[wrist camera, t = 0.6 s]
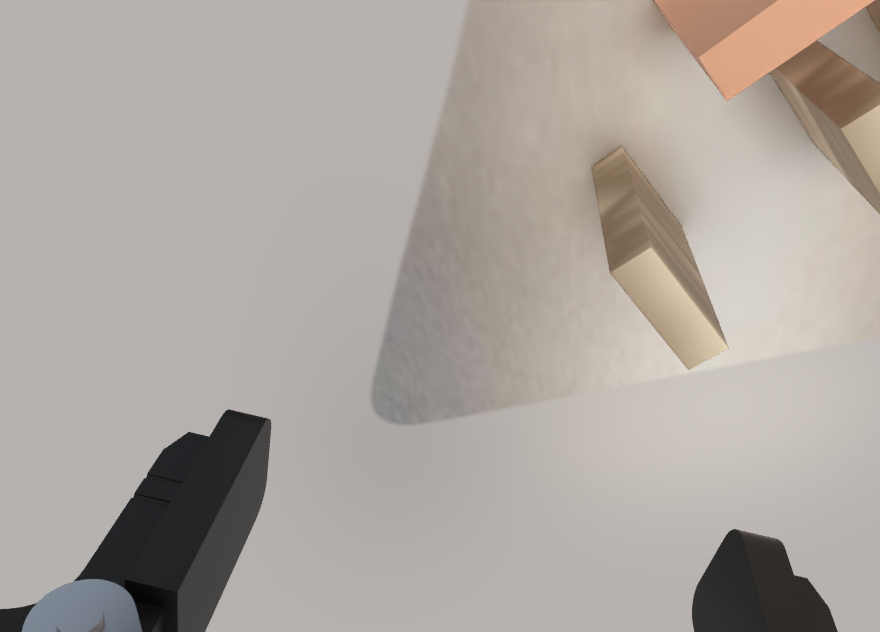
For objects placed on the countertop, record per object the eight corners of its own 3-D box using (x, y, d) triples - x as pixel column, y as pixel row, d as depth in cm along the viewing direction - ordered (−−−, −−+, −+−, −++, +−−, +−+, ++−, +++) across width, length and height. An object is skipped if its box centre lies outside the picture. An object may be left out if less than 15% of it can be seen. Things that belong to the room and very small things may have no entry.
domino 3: (793, 25, 30) (896, 94, 21) (850, 121, 32) (966, 221, 23) (756, 51, 31) (841, 129, 22) (814, 144, 32) (913, 249, 24)
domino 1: (621, 145, 33) (651, 247, 25) (681, 227, 35) (728, 348, 26) (591, 166, 34) (610, 272, 25) (651, 245, 36) (688, 369, 27)
